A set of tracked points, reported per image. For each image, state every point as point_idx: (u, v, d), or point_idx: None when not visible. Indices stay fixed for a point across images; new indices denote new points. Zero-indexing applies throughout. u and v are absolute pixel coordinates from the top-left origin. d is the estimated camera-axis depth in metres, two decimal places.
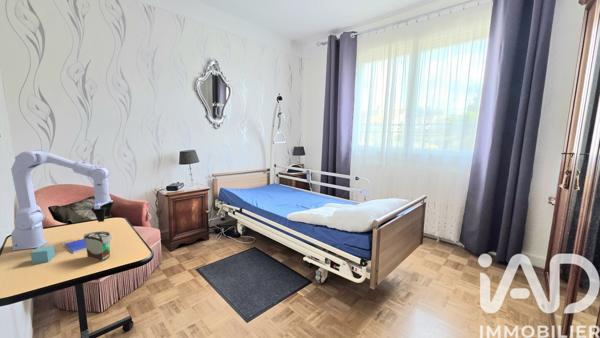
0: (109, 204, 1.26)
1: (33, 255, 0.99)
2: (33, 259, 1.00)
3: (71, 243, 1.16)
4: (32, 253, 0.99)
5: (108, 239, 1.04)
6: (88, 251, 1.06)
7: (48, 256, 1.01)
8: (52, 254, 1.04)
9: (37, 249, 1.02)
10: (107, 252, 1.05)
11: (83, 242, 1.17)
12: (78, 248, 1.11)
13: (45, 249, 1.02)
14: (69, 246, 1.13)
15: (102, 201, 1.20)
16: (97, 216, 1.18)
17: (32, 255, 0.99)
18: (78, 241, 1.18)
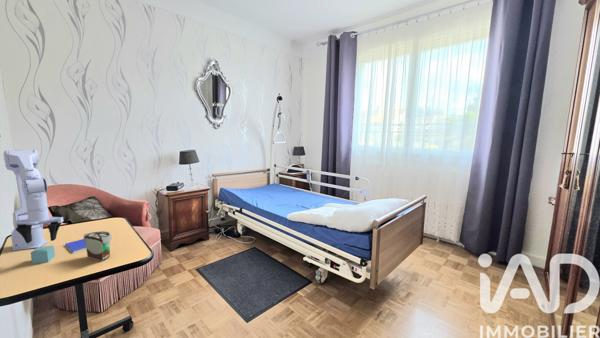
0: None
1: (33, 255, 0.99)
2: (33, 259, 1.00)
3: (71, 243, 1.16)
4: (32, 253, 0.99)
5: (108, 239, 1.04)
6: (88, 251, 1.06)
7: (48, 256, 1.01)
8: (52, 254, 1.04)
9: (37, 249, 1.02)
10: (107, 252, 1.05)
11: (83, 242, 1.17)
12: (78, 248, 1.11)
13: (45, 249, 1.02)
14: (69, 246, 1.13)
15: None
16: None
17: (32, 255, 0.99)
18: (78, 241, 1.18)
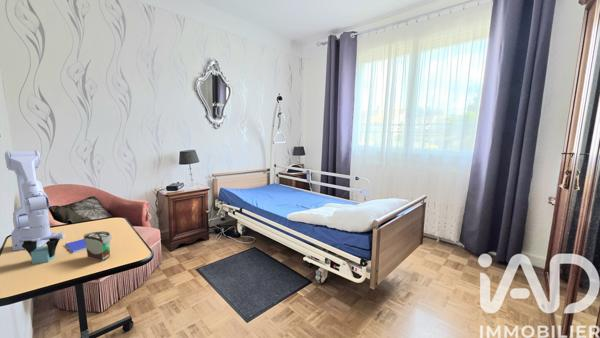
0: None
1: (33, 255, 0.99)
2: (33, 259, 0.99)
3: (71, 243, 1.16)
4: (32, 253, 0.99)
5: (108, 239, 1.04)
6: (88, 251, 1.06)
7: (48, 256, 1.01)
8: None
9: (37, 249, 1.01)
10: (107, 252, 1.05)
11: (83, 242, 1.17)
12: (78, 248, 1.11)
13: (45, 249, 1.02)
14: (69, 246, 1.13)
15: None
16: None
17: (32, 255, 0.99)
18: (78, 241, 1.18)
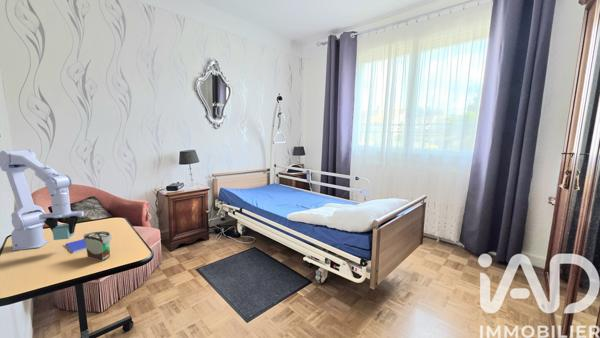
0: None
1: (54, 231, 1.06)
2: (54, 235, 1.06)
3: (71, 243, 1.16)
4: (54, 229, 1.06)
5: (108, 239, 1.04)
6: (88, 251, 1.06)
7: (68, 233, 1.08)
8: None
9: (58, 226, 1.08)
10: (107, 252, 1.05)
11: (83, 242, 1.17)
12: (78, 248, 1.11)
13: (65, 226, 1.08)
14: (69, 246, 1.13)
15: None
16: (54, 227, 1.09)
17: (53, 231, 1.06)
18: (78, 241, 1.18)
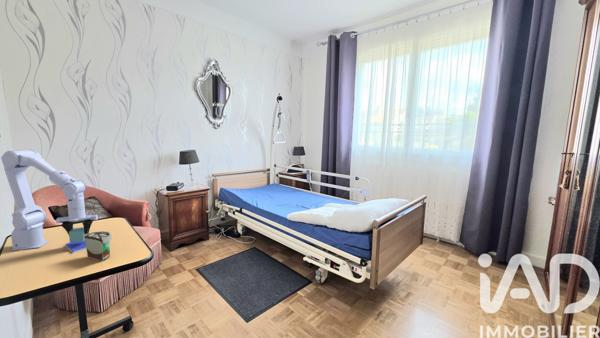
0: None
1: (71, 234, 1.12)
2: (71, 238, 1.12)
3: (72, 243, 1.16)
4: (70, 232, 1.11)
5: (108, 239, 1.04)
6: (88, 251, 1.06)
7: (83, 235, 1.14)
8: None
9: (74, 229, 1.14)
10: (107, 252, 1.05)
11: (83, 242, 1.17)
12: (78, 248, 1.11)
13: (81, 229, 1.14)
14: (69, 246, 1.13)
15: (68, 217, 1.12)
16: None
17: (70, 234, 1.12)
18: None
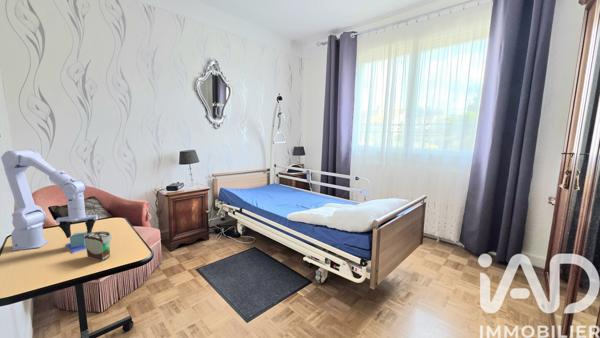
0: None
1: (72, 239, 1.12)
2: (72, 243, 1.12)
3: None
4: (71, 238, 1.12)
5: (108, 239, 1.04)
6: (88, 251, 1.06)
7: (84, 240, 1.14)
8: None
9: (74, 234, 1.14)
10: (107, 252, 1.05)
11: None
12: (78, 249, 1.11)
13: (82, 234, 1.14)
14: (69, 247, 1.13)
15: (68, 217, 1.12)
16: None
17: (71, 239, 1.12)
18: None
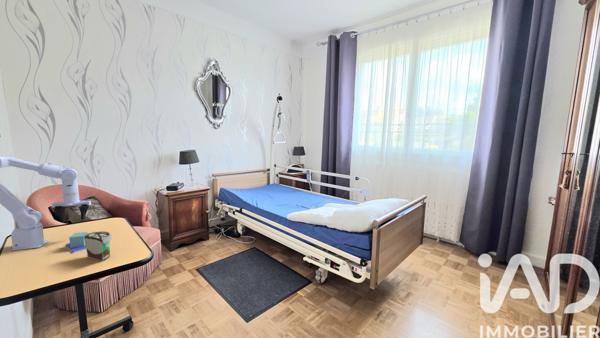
0: None
1: (71, 240, 1.12)
2: (71, 243, 1.12)
3: None
4: (70, 238, 1.12)
5: (108, 239, 1.04)
6: (88, 251, 1.06)
7: (84, 240, 1.14)
8: None
9: (74, 235, 1.14)
10: (107, 252, 1.05)
11: None
12: (78, 249, 1.11)
13: (81, 234, 1.14)
14: None
15: None
16: None
17: (70, 239, 1.12)
18: None
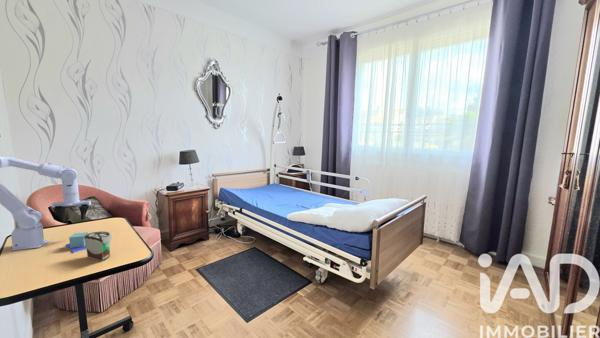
0: None
1: (71, 240, 1.12)
2: (71, 243, 1.12)
3: None
4: (70, 238, 1.12)
5: (108, 239, 1.04)
6: (88, 251, 1.06)
7: (83, 241, 1.14)
8: None
9: (74, 235, 1.14)
10: (107, 252, 1.05)
11: None
12: (78, 249, 1.11)
13: (81, 235, 1.14)
14: None
15: None
16: None
17: (70, 240, 1.12)
18: None
